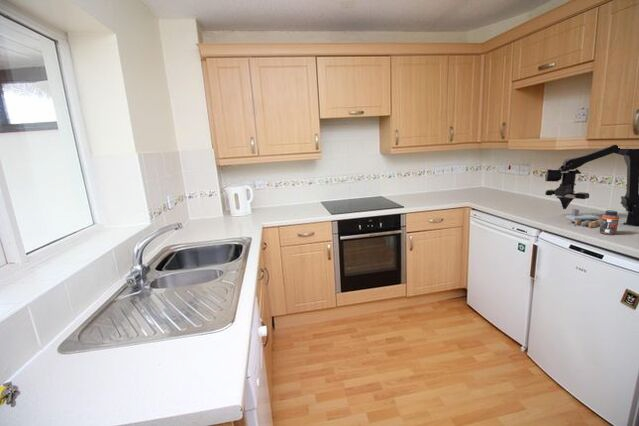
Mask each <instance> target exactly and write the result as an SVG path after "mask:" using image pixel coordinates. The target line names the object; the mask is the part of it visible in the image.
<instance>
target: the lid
mask: <svg viewBox="0 0 639 426" xmlns="http://www.w3.org/2000/svg"><path fill="white" fill-rule="evenodd" d="M571 210H572V211H571V214H565V218H568V219H571V220H574V221H575V220H581V219H601V217H600V216H599V214H597V213H596V214H595V213H594V214H579V213H580V209H577V208H572V209H571Z"/></svg>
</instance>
